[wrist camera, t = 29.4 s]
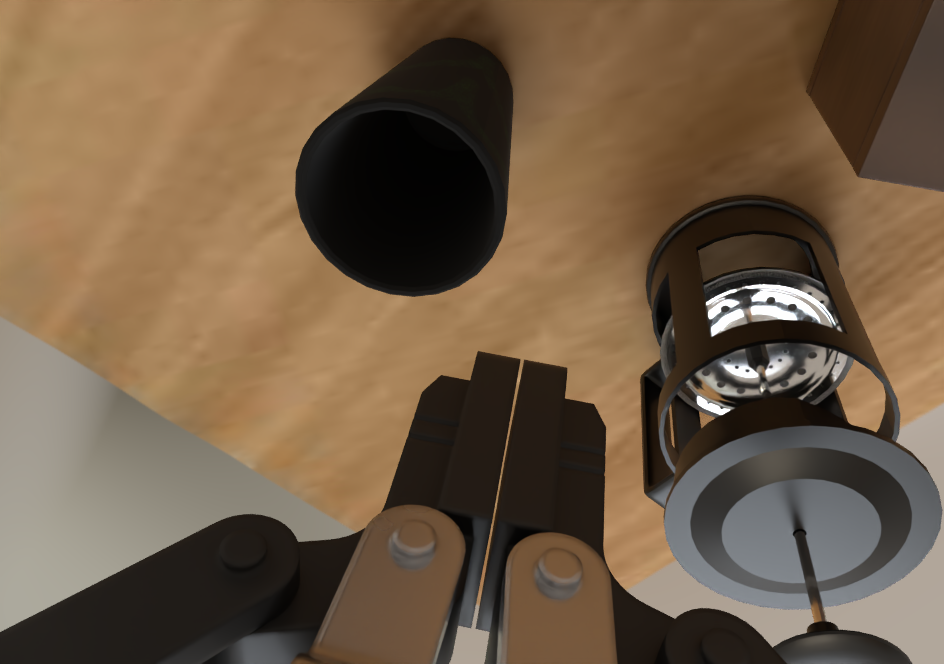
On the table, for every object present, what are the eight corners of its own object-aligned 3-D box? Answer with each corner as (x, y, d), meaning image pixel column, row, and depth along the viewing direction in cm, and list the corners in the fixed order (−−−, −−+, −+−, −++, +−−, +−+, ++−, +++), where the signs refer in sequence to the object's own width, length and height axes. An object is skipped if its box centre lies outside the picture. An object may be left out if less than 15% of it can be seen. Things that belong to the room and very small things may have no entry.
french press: (758, 146, 37) (895, 511, 19) (890, 266, 40) (1131, 698, 21) (586, 303, 44) (560, 696, 25) (709, 399, 46) (771, 825, 27)
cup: (519, -2, 35) (481, 81, 26) (548, 161, 39) (524, 286, 30) (357, 31, 37) (263, 119, 28) (399, 183, 41) (331, 307, 32)
